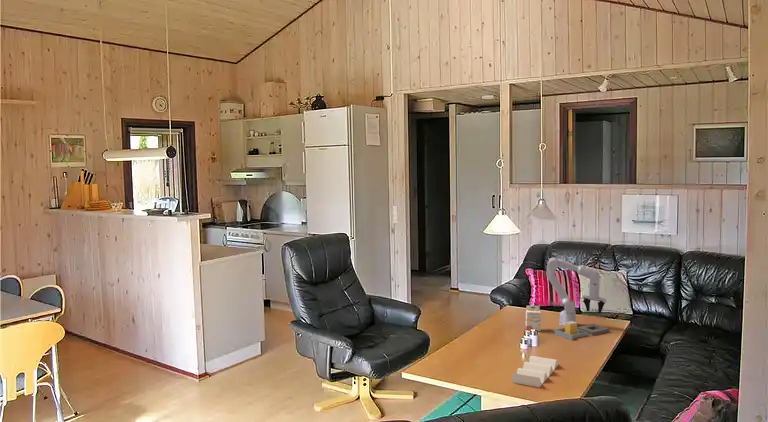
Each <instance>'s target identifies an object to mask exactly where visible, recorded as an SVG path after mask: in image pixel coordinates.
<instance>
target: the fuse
mask: <svg viewBox="0 0 768 422" xmlns="http://www.w3.org/2000/svg"><path fill="white" fill-rule="evenodd" d="M577 327H578V322H574V321H569V322H565V326H564V328H565V333H568V334H571V335H575V334H577Z"/></svg>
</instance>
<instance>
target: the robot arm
mask: <svg viewBox="0 0 768 422" xmlns="http://www.w3.org/2000/svg"><path fill="white" fill-rule="evenodd" d="M546 264H547V265H546V277H547V279H548V281H549V282H550V284H551V286H552V287H553V289H554V291H555V292H556V294H557V295H558V297H559V299H560V300H561V303H562V304H563V306H564V309H563V310H562V311H560V312H559V323H558V326H562V325H563V326H564V327H565V322H569V321H574V322H576V321H577V319H576V318H577V316H576V315H577V314H576V313H577V311H576V303H575V301H573V300H572V299H571V298H570V297H569V295H568V293H567V292H566V290H565V289H564V287H563V286H562V284H561V282H560V281H559V279H558V278H557V276H556V272H557V271H556V270H557V269H558V268H559V269H562V268H566V269H569V270H571V271H573V272H576V273H577V274H578V276H582V277H585V278H587V279H589V291H588V292H589V293H588V295H582V296H581V297H582V301H583V303H584V306H585V308H586V309H585V310H586V312H590V308H591V301H596V302H597V308H598V310H597V312H598V314H601V313H602V311H603V307H604V306H605V304H606V303H607V298H602V297H600V278H601V276H600V273H599V271H598V270H596V269H593V268H588V267H587V266H586V265H580V266H578V265H575V264H573V263H571V262H569V261H566V260H564V259H561V258H557V257H550V258H549V259H548V261H547V263H546Z"/></svg>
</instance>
